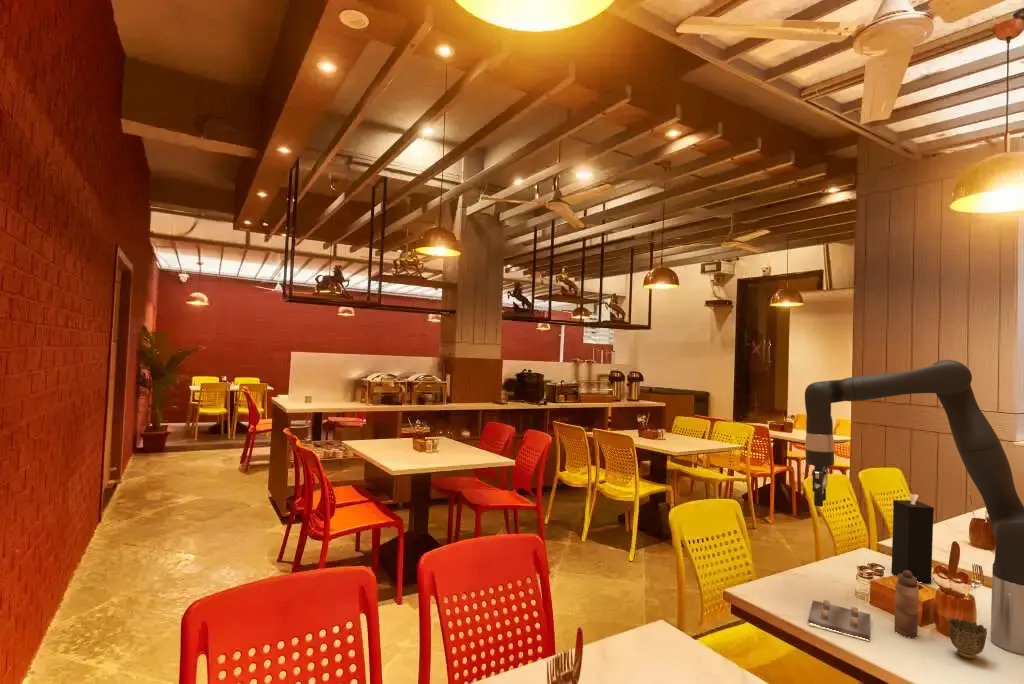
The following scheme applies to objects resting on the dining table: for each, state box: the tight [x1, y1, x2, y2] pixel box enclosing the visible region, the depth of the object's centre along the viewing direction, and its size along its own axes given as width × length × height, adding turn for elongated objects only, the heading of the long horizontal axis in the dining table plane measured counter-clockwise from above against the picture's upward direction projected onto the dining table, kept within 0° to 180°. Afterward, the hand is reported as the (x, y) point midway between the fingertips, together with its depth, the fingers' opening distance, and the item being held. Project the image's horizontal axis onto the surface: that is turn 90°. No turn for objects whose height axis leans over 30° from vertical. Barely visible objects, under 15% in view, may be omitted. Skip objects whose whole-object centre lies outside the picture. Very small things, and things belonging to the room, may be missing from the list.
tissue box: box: [891, 492, 935, 585], centre depth 183 cm, size 8×8×28 cm
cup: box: [947, 617, 988, 661], centre depth 137 cm, size 8×7×8 cm
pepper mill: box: [893, 570, 920, 639], centre depth 148 cm, size 5×5×17 cm
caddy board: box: [807, 599, 871, 640], centre depth 153 cm, size 14×14×4 cm
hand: (820, 503), depth 167 cm, fingers open, 8 cm apart
